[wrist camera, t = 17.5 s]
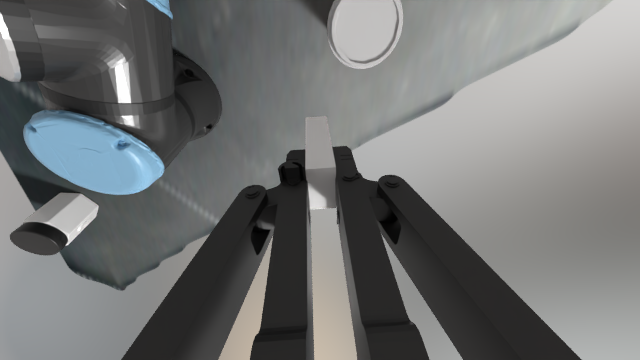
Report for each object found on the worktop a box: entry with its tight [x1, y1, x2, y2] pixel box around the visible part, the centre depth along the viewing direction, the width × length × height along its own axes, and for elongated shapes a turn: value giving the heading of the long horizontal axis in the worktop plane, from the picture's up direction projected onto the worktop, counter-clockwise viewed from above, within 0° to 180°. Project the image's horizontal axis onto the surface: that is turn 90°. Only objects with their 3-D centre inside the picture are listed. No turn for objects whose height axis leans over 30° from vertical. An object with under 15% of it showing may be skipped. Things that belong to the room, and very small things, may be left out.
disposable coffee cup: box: [327, 0, 403, 69], centre depth 33 cm, size 10×10×12 cm
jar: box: [10, 193, 99, 255], centre depth 53 cm, size 9×8×12 cm
